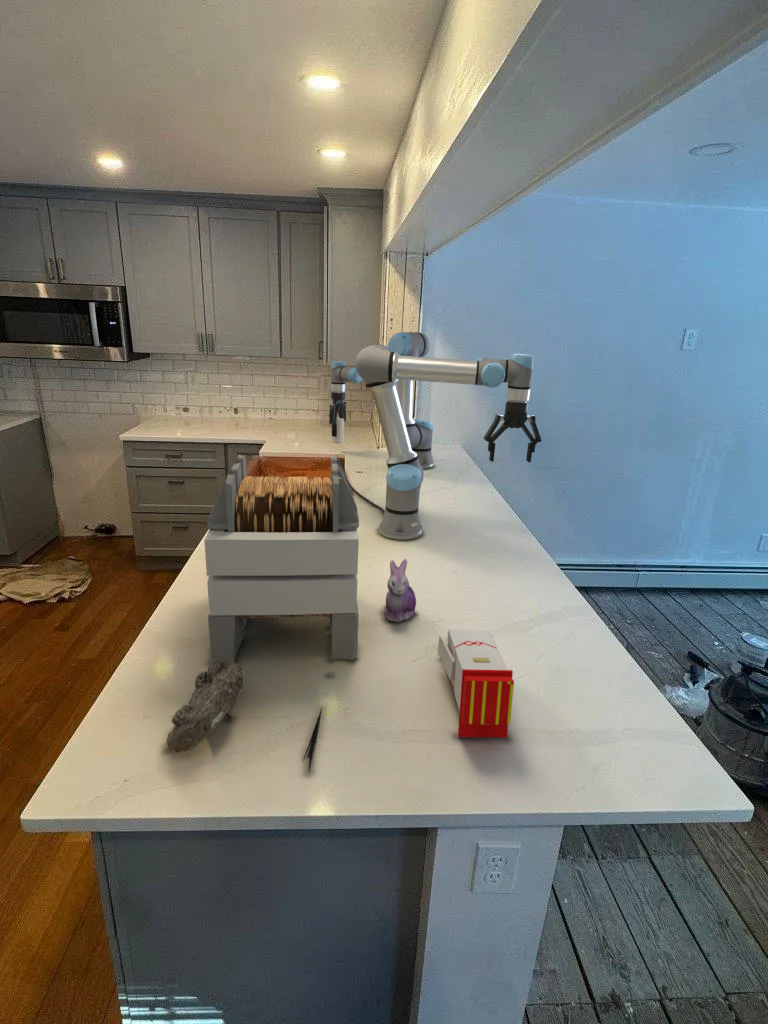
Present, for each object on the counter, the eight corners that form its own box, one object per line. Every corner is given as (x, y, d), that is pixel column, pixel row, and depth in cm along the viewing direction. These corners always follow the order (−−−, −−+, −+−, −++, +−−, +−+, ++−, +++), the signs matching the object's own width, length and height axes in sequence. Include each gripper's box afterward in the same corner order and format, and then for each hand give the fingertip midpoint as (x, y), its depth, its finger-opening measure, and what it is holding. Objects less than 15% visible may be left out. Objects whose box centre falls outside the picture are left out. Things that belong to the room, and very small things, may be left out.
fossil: (192, 660, 117) (244, 628, 112) (224, 691, 120) (276, 661, 115) (142, 746, 98) (202, 712, 93) (182, 779, 101) (242, 748, 96)
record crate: (230, 591, 155) (223, 445, 141) (350, 589, 159) (354, 447, 145) (208, 664, 123) (195, 486, 109) (358, 660, 127) (363, 487, 113)
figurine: (392, 627, 141) (395, 572, 136) (374, 608, 149) (376, 556, 144) (425, 619, 145) (429, 566, 140) (405, 601, 154) (408, 550, 149)
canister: (346, 442, 307) (346, 419, 302) (336, 444, 302) (336, 420, 298) (338, 440, 311) (338, 417, 307) (328, 442, 307) (329, 418, 302)
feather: (331, 679, 122) (336, 673, 122) (307, 777, 96) (313, 769, 95) (324, 675, 122) (329, 669, 121) (298, 772, 95) (304, 764, 95)
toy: (488, 613, 130) (523, 677, 101) (484, 667, 133) (517, 744, 104) (435, 612, 130) (455, 676, 101) (432, 666, 133) (451, 743, 103)
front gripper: (548, 400, 199) (539, 458, 206) (478, 398, 196) (473, 457, 203) (556, 403, 192) (547, 464, 199) (484, 401, 189) (478, 463, 196)
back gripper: (341, 389, 307) (340, 431, 315) (322, 393, 291) (322, 437, 298) (353, 390, 304) (352, 432, 312) (334, 394, 288) (334, 439, 295)
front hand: (509, 461), depth 201 cm, fingers open, 13 cm apart
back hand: (337, 435), depth 305 cm, fingers closed on canister, 7 cm apart
